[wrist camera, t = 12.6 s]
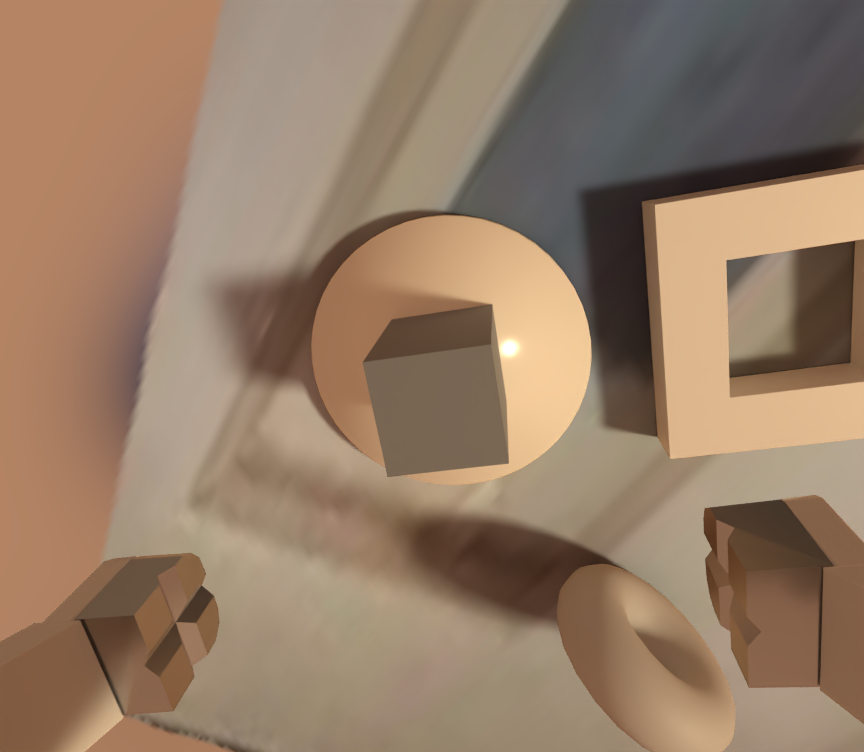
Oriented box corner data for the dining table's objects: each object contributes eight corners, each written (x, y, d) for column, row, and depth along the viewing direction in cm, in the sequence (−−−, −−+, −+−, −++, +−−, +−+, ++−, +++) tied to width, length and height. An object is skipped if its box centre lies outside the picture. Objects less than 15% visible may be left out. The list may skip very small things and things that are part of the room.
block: (492, 304, 30) (491, 344, 23) (506, 400, 31) (508, 463, 25) (391, 319, 30) (362, 362, 24) (410, 412, 32) (387, 477, 25)
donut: (535, 560, 35) (550, 704, 26) (575, 519, 34) (606, 655, 25) (668, 653, 36) (728, 823, 27) (711, 616, 35) (789, 781, 26)
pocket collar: (927, 153, 27) (969, 152, 24) (910, 408, 30) (945, 429, 28) (641, 201, 28) (654, 204, 26) (657, 437, 32) (670, 458, 30)
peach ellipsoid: (573, 190, 29) (576, 191, 28) (600, 460, 33) (603, 469, 32) (288, 240, 31) (281, 242, 30) (348, 488, 35) (344, 497, 34)
